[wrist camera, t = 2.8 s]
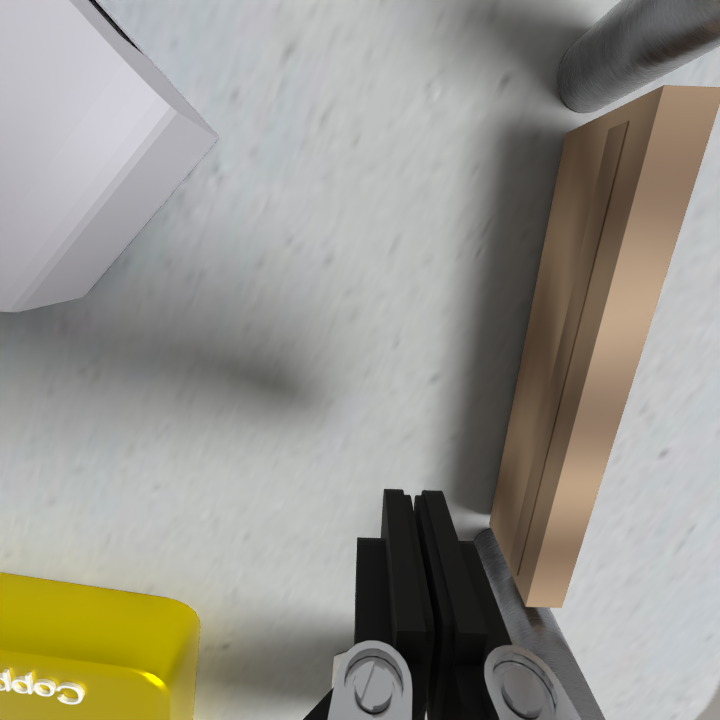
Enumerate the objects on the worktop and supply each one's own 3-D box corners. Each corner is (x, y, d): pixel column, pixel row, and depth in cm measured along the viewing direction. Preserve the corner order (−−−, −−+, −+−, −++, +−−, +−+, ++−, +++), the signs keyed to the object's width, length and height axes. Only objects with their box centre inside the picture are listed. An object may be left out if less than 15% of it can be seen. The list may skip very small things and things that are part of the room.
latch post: (475, 527, 20) (560, 748, 11) (519, 528, 20) (637, 751, 11) (470, 560, 21) (545, 790, 12) (511, 561, 21) (616, 791, 12)
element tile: (205, 596, 22) (165, 688, 18) (193, 734, 27) (159, 834, 23) (-47, 558, 21) (-156, 645, 17) (-12, 708, 26) (-90, 807, 22)
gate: (564, 133, 13) (661, 85, 9) (608, 135, 13) (726, 87, 9) (488, 523, 19) (524, 606, 15) (518, 524, 19) (562, 607, 15)
